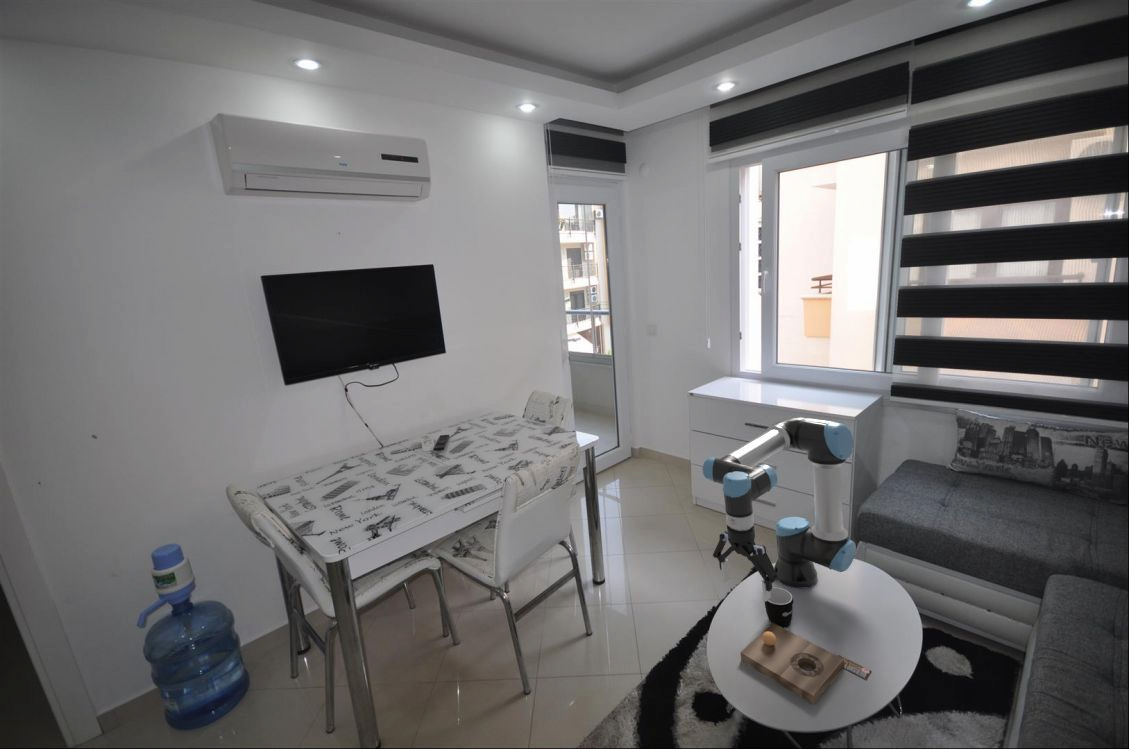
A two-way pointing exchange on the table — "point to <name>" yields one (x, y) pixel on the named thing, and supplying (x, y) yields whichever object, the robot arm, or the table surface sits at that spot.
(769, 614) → the mug
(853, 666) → the chocolate bar
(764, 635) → the ball
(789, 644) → the wooden board
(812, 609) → the table surface
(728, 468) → the robot arm
